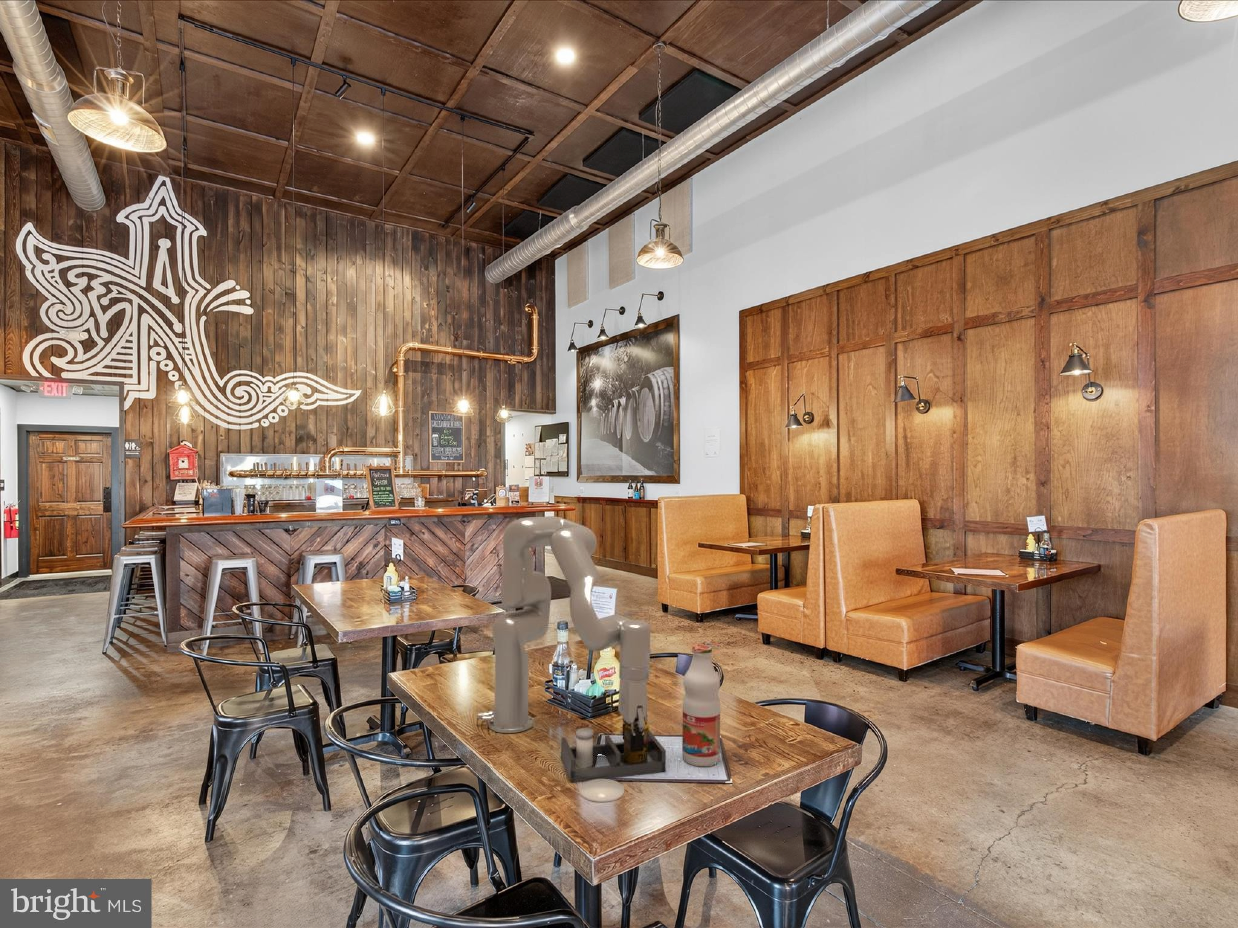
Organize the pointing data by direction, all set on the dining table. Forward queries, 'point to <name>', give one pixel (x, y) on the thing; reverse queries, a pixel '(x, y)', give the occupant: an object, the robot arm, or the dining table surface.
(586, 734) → the salt shaker
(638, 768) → the caddy
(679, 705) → the dining table surface
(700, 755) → the fruit juice
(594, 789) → the coaster
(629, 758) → the condiment
